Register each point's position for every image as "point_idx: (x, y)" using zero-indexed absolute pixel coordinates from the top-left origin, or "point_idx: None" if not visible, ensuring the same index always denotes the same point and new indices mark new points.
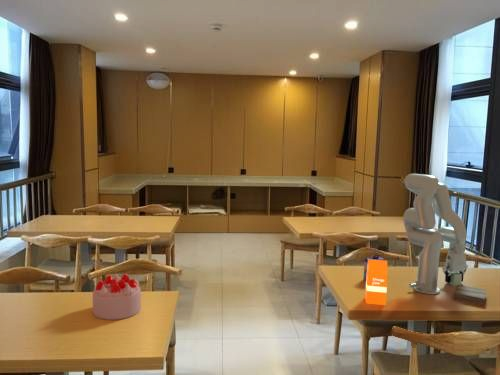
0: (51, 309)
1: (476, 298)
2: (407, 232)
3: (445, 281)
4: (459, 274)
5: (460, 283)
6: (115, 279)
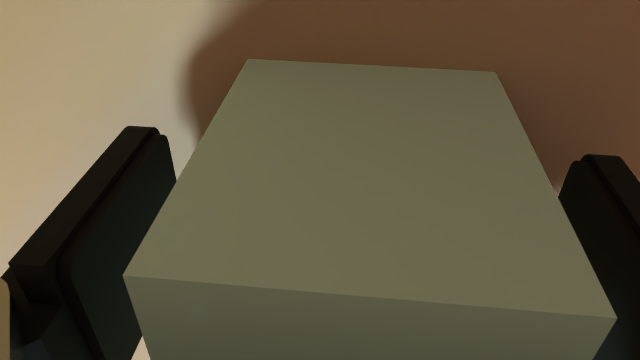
0: None
1: None
2: None
3: None
4: (282, 279)
5: (262, 75)
6: None
